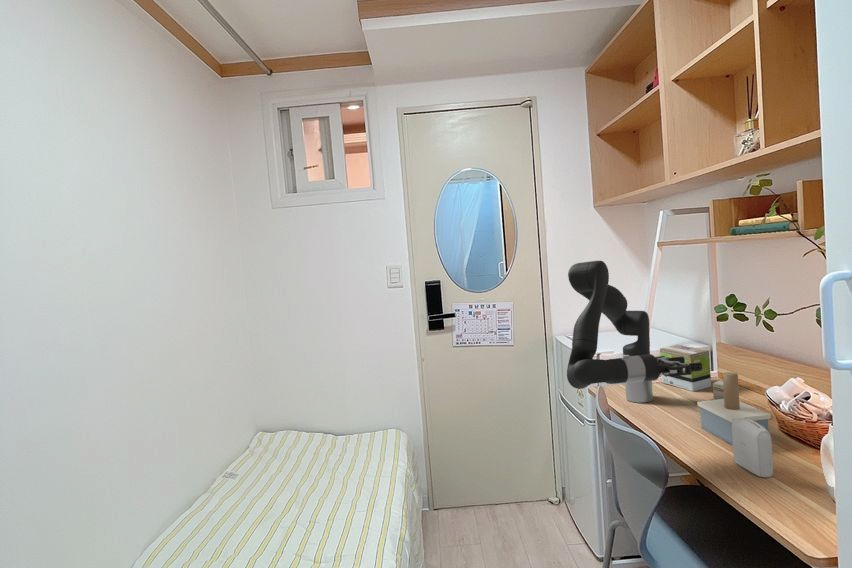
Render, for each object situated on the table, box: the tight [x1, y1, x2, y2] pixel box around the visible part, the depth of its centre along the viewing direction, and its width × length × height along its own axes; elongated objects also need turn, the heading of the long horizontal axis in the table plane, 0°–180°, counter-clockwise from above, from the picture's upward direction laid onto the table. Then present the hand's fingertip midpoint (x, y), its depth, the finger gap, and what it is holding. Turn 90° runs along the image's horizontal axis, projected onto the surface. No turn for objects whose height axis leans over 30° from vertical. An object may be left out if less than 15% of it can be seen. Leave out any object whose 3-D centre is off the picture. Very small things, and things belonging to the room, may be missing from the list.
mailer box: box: [699, 407, 770, 447], centre depth 145 cm, size 15×10×7 cm, turn 3°
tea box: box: [659, 344, 712, 392], centre depth 195 cm, size 15×10×15 cm, turn 21°
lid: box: [696, 371, 772, 423], centre depth 144 cm, size 16×11×11 cm
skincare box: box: [712, 379, 724, 400], centre depth 163 cm, size 5×4×10 cm
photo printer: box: [732, 418, 774, 478], centre depth 124 cm, size 10×4×12 cm, turn 3°
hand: (692, 363), depth 143 cm, fingers open, 8 cm apart
